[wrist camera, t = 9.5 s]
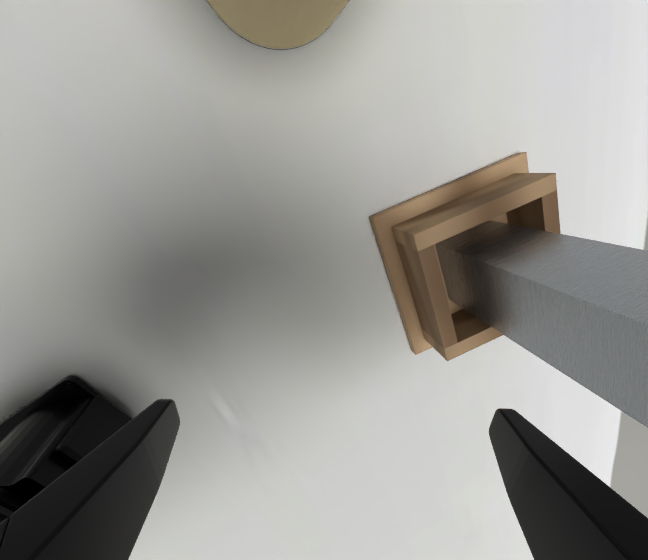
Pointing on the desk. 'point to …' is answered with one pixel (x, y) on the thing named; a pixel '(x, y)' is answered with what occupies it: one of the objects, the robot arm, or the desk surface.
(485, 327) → the well
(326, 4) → the coffee cup
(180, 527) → the desk surface
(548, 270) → the silver block
